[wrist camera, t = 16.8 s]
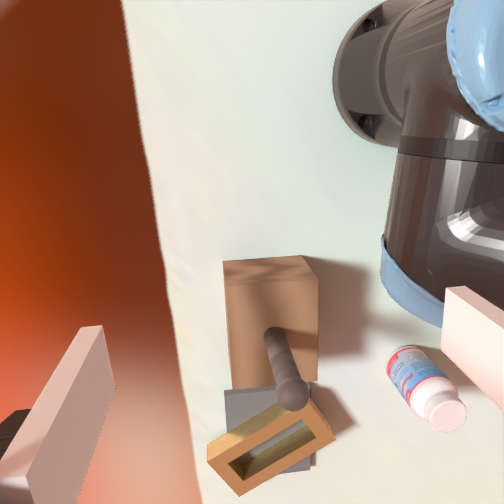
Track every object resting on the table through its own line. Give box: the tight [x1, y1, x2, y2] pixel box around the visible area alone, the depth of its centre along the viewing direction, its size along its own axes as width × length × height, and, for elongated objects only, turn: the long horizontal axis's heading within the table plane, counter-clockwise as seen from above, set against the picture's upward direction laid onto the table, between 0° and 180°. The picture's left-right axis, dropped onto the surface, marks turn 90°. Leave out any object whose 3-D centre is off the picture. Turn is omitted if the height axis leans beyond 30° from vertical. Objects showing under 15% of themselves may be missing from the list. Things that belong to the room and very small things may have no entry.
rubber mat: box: [224, 382, 311, 474], centre depth 59 cm, size 12×15×1 cm
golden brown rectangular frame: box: [207, 397, 336, 497], centre depth 57 cm, size 8×16×3 cm, turn 123°
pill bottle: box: [386, 346, 467, 432], centre depth 53 cm, size 6×6×11 cm
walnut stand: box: [223, 255, 319, 412], centre depth 44 cm, size 10×13×20 cm
